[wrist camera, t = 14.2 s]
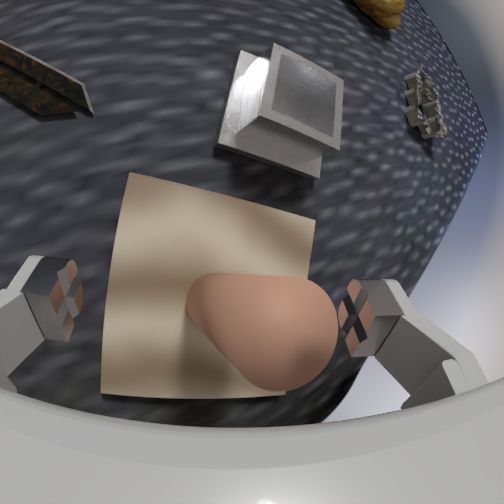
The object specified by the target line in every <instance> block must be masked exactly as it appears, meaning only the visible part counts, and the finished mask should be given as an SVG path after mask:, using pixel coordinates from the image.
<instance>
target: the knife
mask: <svg viewBox="0 0 504 504" xmlns="http://www.w3.org/2000/svg"><path fill="white" fill-rule="evenodd" d="M0 62H2V63H4V64H6V65H8V66H10V67H12V68H13V69H15V70H17V71H19V72H21V73H23V74H24V75H26V76H28V77H30V78H32V79H34V80H35V81H37V82H36V83H35V84H34V85H32V84H31V83H29V82H27V81H25V80H23V79H22V78H20V77H18V76H16V75H14V74H13V73H11V72H9V71H7V70H5V69H3V68H2V67H0V91H1V92H3V93H4V94H6V95H8V96H9V97H11V98H13V99H14V100H16V101H18V102H19V103H21V104H23V105H24V106H26V107H28V108H29V109H31V110H33V111H34V112H36V113H38V114H39V115H41V116H43V115H50V114H58V113H66V112H76V111H77V110H76V109H74V108H72V107H71V106H69V105H67V104H65V103H64V102H62V101H60V100H59V99H57V98H55V97H53V96H52V95H50V94H48V93H46V92H45V91H43V90H41V89H39V88H40V87H41V86H42V85H44V86H46V87H48V88H50V89H51V90H53V91H55V92H57V93H58V94H60V95H62V96H64V97H65V98H67V99H69V100H71V101H72V102H74V103H76V104H77V105H79V106H81V107H83V108H84V109H86V110H88V111H89V112H91V113H93V114H94V111H93V108H92V105H91V102H90V99H89V96H88V93H87V90H86V87H85V84H84V83H82V82H80V81H78V80H77V79H75V78H73V77H71V76H69V75H67V74H66V73H64V72H62V71H60V70H58V69H56V68H54V67H53V66H51V65H49V64H47V63H45V62H43V61H41V60H39V59H37V58H35V57H33V56H32V55H30V54H28V53H26V52H24V51H22V50H20V49H18V48H16V47H14V46H12V45H9V44H7V43H5V42H3V41H1V40H0Z"/></svg>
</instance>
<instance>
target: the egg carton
mask: <svg viewBox="0 0 504 504" xmlns="http://www.w3.org/2000/svg"><path fill="white" fill-rule="evenodd" d="M405 82H406V83H407V85H408V87H409V90H407V91H405V97H406V99H407V100H408V103H409V106H408V107H406V108H404V113H405V114H406V116H407V118H408V121H409V124H410V125H411V126H412V127H415V126H418V127H419V129H420V132H421V136H422V137H423V138H424V139H426V138H430V137H434V136H436V135H437V134H438V133H439V136H441V137H443V138H444V139H445V138H446V137H447V130H446V129H447V127H446V123H443V116H442V115H441V107H440V104H439V100H438V99H437V96H438V90H437V89H434V87H433V86H434V85H435V84H434V83H432V82H431V79H430V78H429V77H428V75H427V74H426V73H424V71H423V69H422V67H421V66H420V67H419V69H418V72H417V73H412V74H410V75H407V76H405ZM425 103H427V104H425ZM422 104H425V111H426V113H427V115H428V119H426V120H425V121H424V122H422V120H423V117H422V113H421V111H420V110H419V109H418V105H422Z"/></svg>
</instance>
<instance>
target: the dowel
mask: <svg viewBox="0 0 504 504" xmlns="http://www.w3.org/2000/svg"><path fill="white" fill-rule="evenodd" d="M186 305H187V311H188V314H189V316H190V318H191V319H192V321H193V322H194V323H195V324H196V325H197V326H198V328H199V329H200V330H201V331H202V332H203V333H204V334H205V336H206V337H207V338H208V339H209V340H210V341H211V342H212V343H213V344H214V346H215V347H216V348H217V349H218V350H219V351H220V352H221V353H222V354H223V355H224V356H225V357H226V359H227V360H228V361H229V362H230V363H231V364H232V365H233V366H234V367H235V368H236V369H237V370H238V371H239V372H240V373H241V374H242V375H243V376H244V377H245V378H246V379H247V380H248V381H249V382H250V383H252V384H253V385H255V386H257V387H259V388H261V389H264V390H268V391H276V392H281V391H289V390H293V389H296V388H299V387H301V386H303V385H305V384H307V383H308V382H310V381H311V380H313V379H314V378H315V377H316V376H317V375H318V374H319V373H320V372H321V371H322V370H323V369H324V367H325V366H326V365H327V363H328V361H329V360H330V358H331V356H332V354H333V352H334V349H335V346H336V341H337V336H338V320H337V315H336V311H335V308H334V305H333V303H332V301H331V300H330V298H329V296H328V295H327V294H326V293H325V291H324V290H323V289H322V288H320V287H319V286H318V285H317V284H315V283H313V282H312V281H310V280H307V279H304V278H300V277H293V276H273V275H252V274H232V273H209V274H206V275H204V276H202V277H200V278H198V279H197V280H196V281H195V282H194V283H193V285H192V286H191V287H190V289H189V292H188V295H187V301H186Z"/></svg>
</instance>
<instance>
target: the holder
mask: <svg viewBox="0 0 504 504" xmlns="http://www.w3.org/2000/svg"><path fill="white" fill-rule="evenodd" d="M342 104H343V80H342V79H340V78H338V77H337V76H335V75H333V74H332V73H330V72H328V71H327V70H325V69H323V68H321V67H320V66H318V65H316V64H314V63H312V62H311V61H309V60H307V59H305V58H303V57H301V56H299V55H297V54H295V53H293V52H292V51H290V50H288V49H285V48H283V47H281V46H279V45H277V44H275V43H273V44H272V45H271V46H270V47H269V48H268V49H267V50H266V51H265V52H264V53H263V54H262V55H261V56H260V57H257V56H254V55H252V54H250V53H247V52H245V51H242V50H240V52H239V53H238V54H237V55H236V58H235V62H234V66H233V69H232V73H231V77H230V81H229V85H228V88H227V92H226V96H225V100H224V104H223V109H222V113H221V117H220V121H219V125H218V130H217V134H216V138H215V143H214V147H217V148H220V149H224V150H227V151H230V152H233V153H236V154H239V155H242V156H246V157H249V158H252V159H255V160H258V161H261V162H264V163H266V164H269V165H272V166H275V167H278V168H281V169H284V170H286V171H289V172H292V173H295V174H297V175H300V176H303V177H305V178H308V179H311V180H316V179H319V177H320V168H321V159H322V156H325V155H328V154H331V153H334V152H337V151H340V139H341V123H342Z"/></svg>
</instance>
